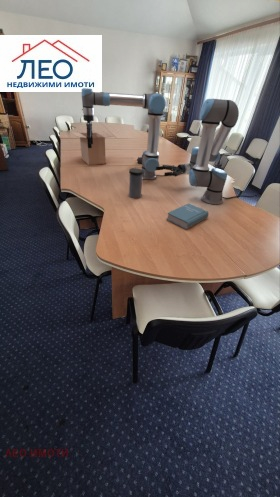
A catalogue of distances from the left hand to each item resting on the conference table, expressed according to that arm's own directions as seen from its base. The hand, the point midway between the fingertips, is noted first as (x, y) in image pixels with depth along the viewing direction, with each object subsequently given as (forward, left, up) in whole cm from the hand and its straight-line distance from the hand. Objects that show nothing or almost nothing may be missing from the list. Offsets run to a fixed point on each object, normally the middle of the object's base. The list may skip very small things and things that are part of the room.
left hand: (90, 146), depth 173 cm
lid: (-34, +30, -9) cm, 46 cm away
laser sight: (-54, -55, -28) cm, 82 cm away
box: (+4, -60, -28) cm, 66 cm away
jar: (-34, +30, -28) cm, 53 cm away
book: (-65, +67, -28) cm, 97 cm away
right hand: (-54, +20, -12) cm, 58 cm away
